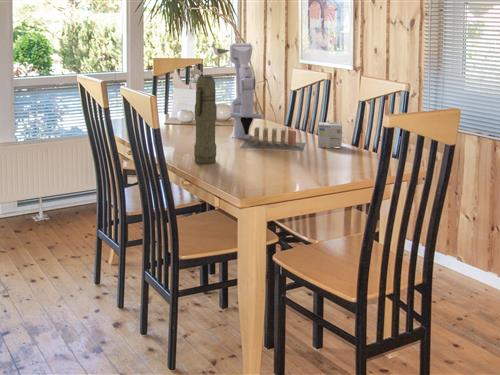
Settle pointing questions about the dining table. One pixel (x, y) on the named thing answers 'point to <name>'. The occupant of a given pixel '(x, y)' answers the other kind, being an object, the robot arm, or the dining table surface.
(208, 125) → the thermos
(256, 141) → the domino
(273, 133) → the domino
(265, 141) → the domino
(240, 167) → the dining table surface
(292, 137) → the domino
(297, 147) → the rubber mat
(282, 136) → the domino
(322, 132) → the light bulb box
